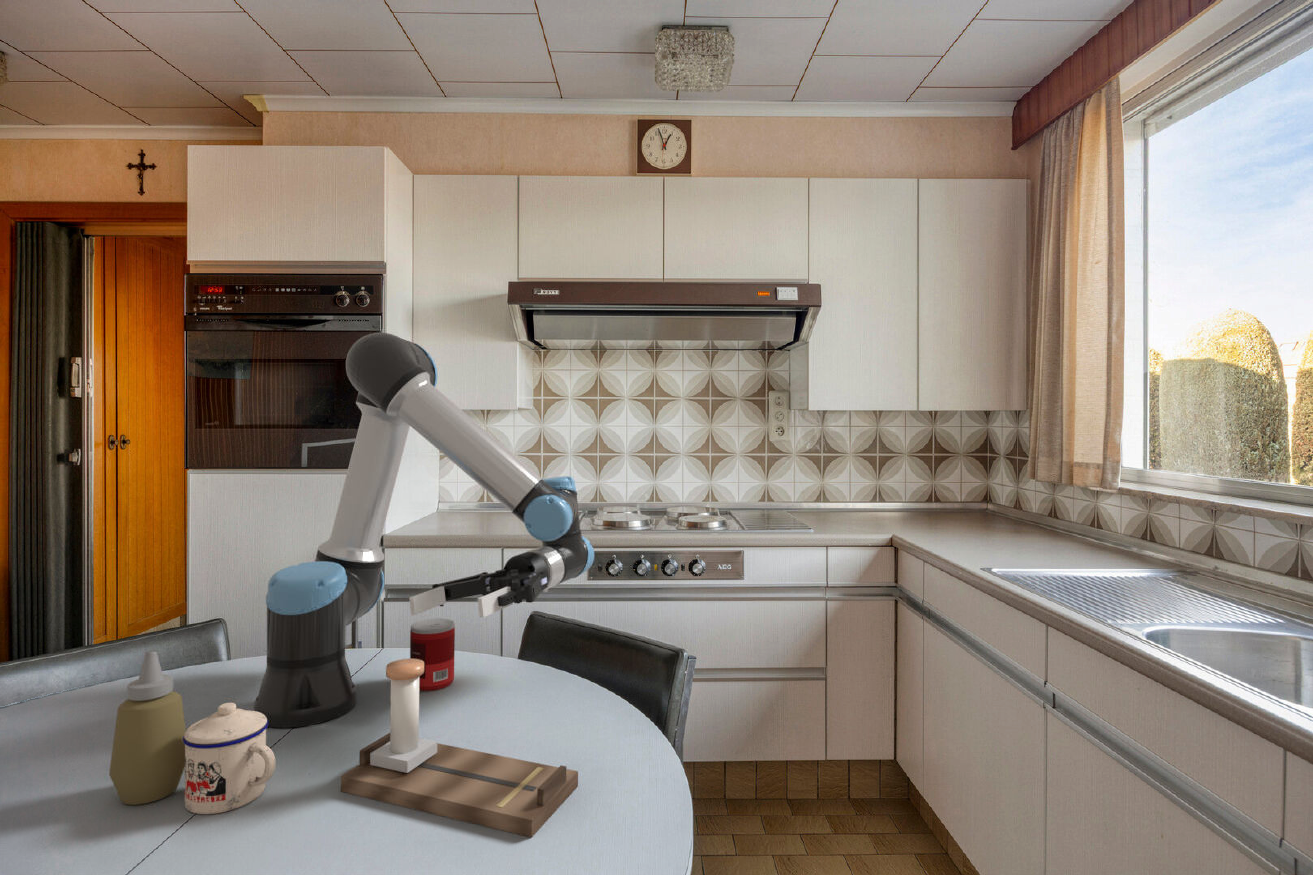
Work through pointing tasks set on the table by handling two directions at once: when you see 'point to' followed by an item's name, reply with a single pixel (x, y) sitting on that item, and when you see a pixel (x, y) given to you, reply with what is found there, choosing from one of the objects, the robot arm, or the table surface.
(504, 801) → the fader track
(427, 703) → the table surface
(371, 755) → the fader
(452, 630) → the canned food
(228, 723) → the teacup with lid
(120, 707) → the squeeze bottle
